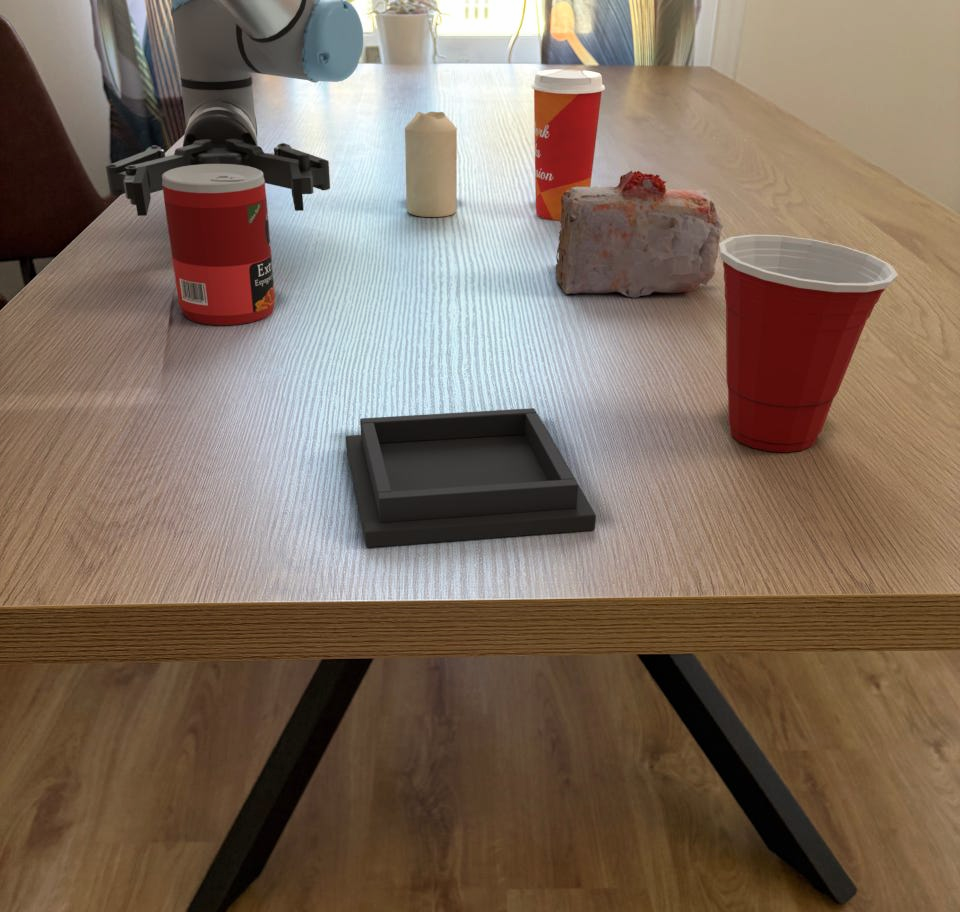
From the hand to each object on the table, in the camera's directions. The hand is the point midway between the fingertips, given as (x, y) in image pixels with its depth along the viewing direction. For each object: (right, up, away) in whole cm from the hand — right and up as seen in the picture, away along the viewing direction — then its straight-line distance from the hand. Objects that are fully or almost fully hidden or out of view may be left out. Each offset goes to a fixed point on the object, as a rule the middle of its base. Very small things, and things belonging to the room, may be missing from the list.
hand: (219, 197), depth 98 cm
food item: (+37, -7, +4) cm, 37 cm away
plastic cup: (+43, -25, -23) cm, 55 cm away
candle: (+17, +8, +26) cm, 32 cm away
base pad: (+22, -30, -30) cm, 48 cm away
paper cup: (+32, +8, +26) cm, 42 cm away
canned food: (+2, -11, -3) cm, 12 cm away
